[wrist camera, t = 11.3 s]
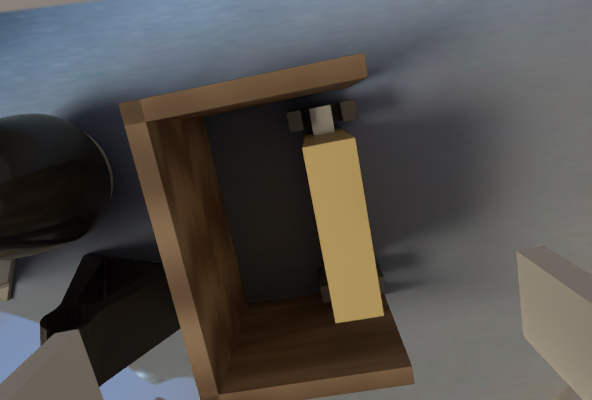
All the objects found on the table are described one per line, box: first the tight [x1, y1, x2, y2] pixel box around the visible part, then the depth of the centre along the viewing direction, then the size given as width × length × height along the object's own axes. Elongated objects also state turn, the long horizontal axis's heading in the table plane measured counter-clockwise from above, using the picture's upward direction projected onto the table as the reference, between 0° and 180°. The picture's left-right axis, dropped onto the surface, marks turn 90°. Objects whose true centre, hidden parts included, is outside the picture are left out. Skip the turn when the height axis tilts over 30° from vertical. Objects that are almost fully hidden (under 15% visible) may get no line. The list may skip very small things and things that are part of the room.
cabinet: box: [118, 53, 415, 400], centre depth 29 cm, size 19×13×12 cm
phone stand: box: [40, 254, 180, 387], centre depth 32 cm, size 9×6×12 cm, turn 83°
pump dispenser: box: [0, 114, 113, 261], centre depth 28 cm, size 10×10×15 cm
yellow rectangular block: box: [302, 105, 384, 323], centre depth 30 cm, size 15×3×11 cm, turn 11°
